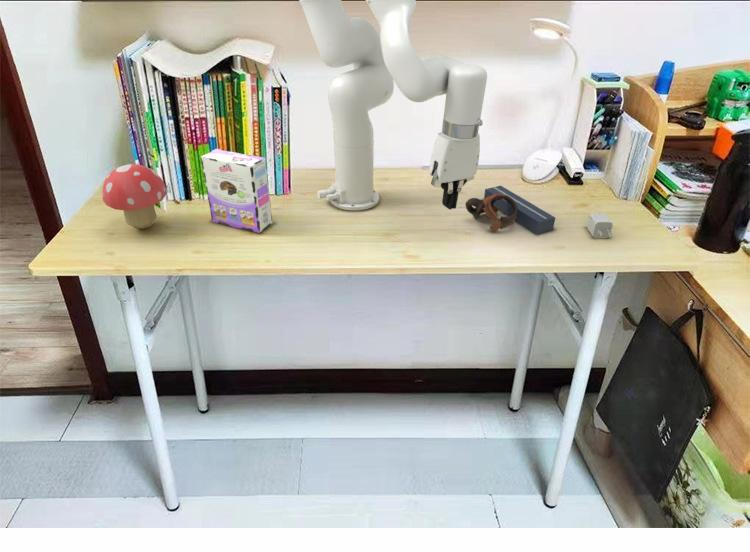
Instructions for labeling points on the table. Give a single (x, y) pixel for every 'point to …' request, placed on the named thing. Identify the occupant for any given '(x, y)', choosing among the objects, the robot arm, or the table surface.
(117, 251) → the table surface
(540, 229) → the pencil case
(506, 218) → the brown curved looped piece
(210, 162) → the candy box
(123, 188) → the decorative mushroom
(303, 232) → the table surface
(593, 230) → the usb wall charger
